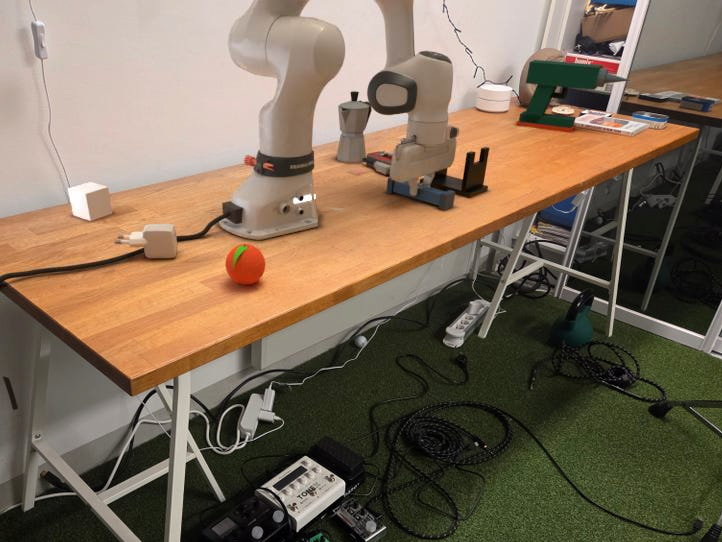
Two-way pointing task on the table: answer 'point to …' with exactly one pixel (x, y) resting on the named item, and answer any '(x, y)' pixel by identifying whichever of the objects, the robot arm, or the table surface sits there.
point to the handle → (423, 193)
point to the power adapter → (153, 240)
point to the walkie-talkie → (379, 161)
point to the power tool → (566, 77)
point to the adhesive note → (90, 201)
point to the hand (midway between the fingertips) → (419, 192)
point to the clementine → (245, 264)
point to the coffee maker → (353, 129)
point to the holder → (464, 176)
